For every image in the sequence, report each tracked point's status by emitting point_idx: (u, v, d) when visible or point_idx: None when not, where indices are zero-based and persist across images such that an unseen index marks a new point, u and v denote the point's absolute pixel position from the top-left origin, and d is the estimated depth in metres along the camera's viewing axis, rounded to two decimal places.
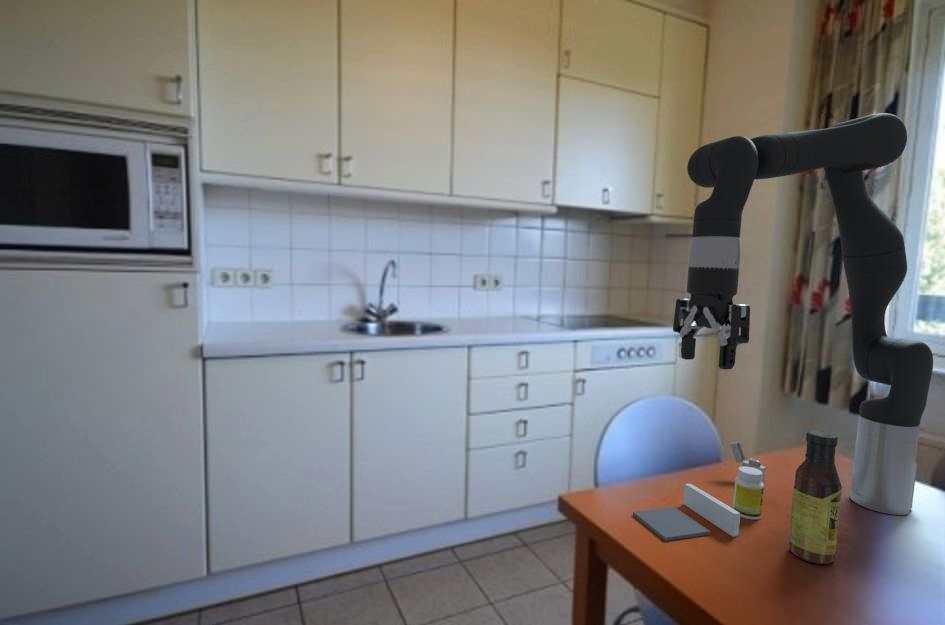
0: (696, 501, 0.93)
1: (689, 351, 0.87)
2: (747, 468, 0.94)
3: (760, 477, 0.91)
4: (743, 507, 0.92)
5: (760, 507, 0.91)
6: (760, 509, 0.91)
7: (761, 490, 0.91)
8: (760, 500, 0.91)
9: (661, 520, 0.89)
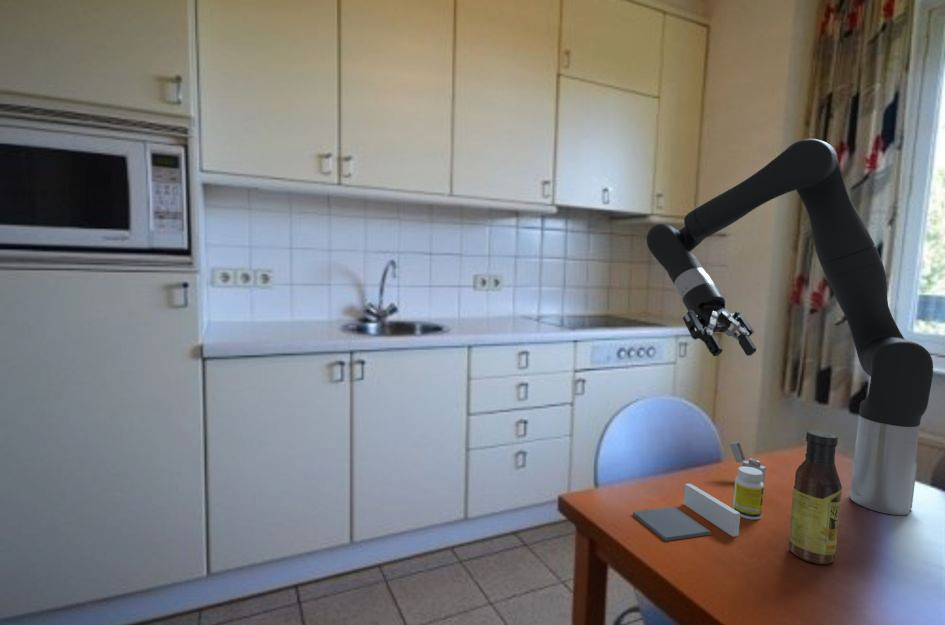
0: (696, 501, 0.93)
1: (747, 348, 1.03)
2: (747, 468, 0.94)
3: (760, 477, 0.91)
4: (743, 507, 0.92)
5: (760, 507, 0.91)
6: (760, 509, 0.91)
7: (761, 490, 0.91)
8: (760, 500, 0.91)
9: (661, 520, 0.89)
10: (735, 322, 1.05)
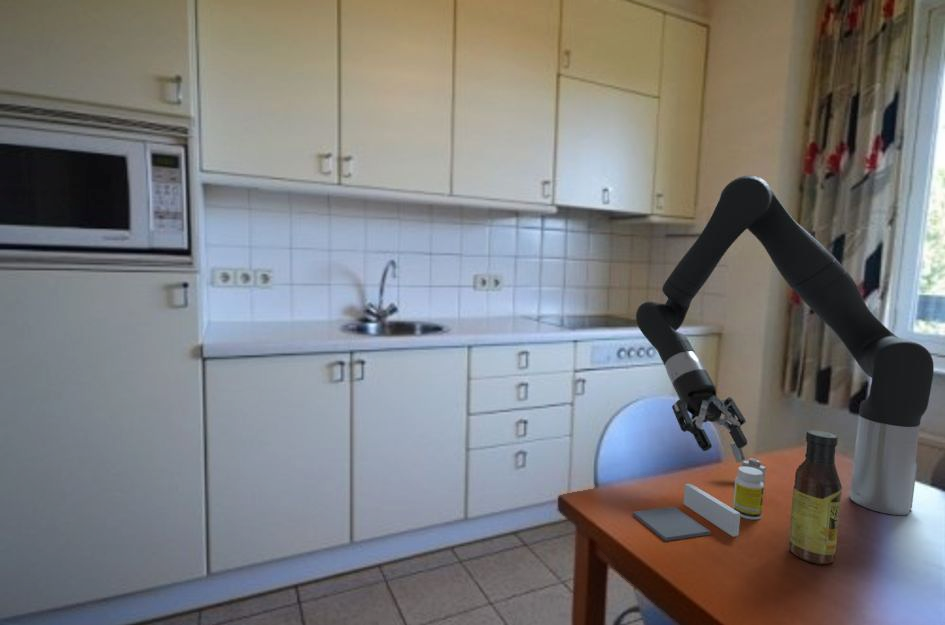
0: (696, 501, 0.93)
1: (737, 440, 1.00)
2: (747, 468, 0.94)
3: (760, 477, 0.91)
4: (743, 507, 0.92)
5: (760, 507, 0.91)
6: (760, 509, 0.91)
7: (761, 490, 0.91)
8: (760, 500, 0.91)
9: (661, 520, 0.89)
10: (726, 412, 1.02)
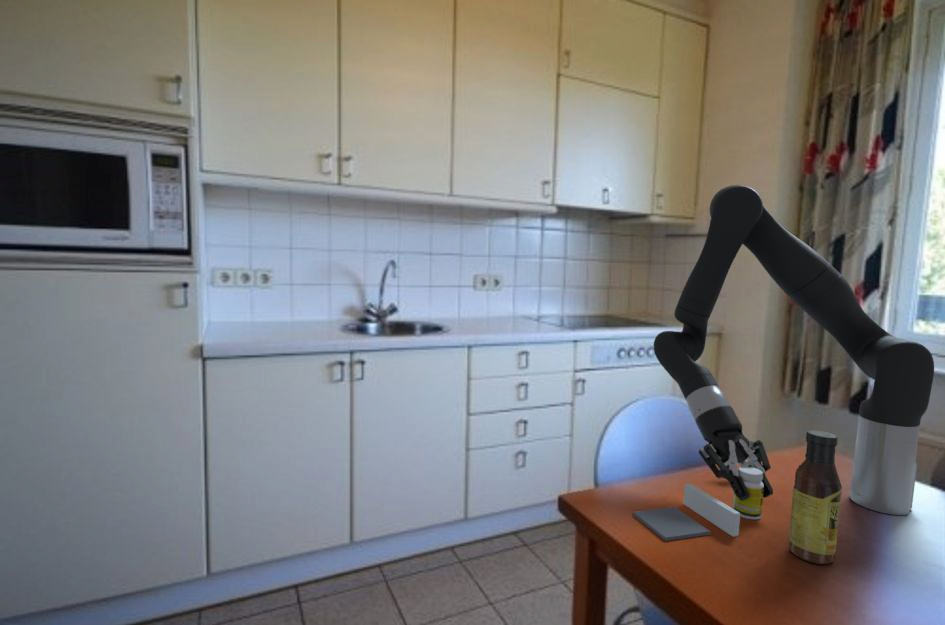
0: (696, 501, 0.93)
1: None
2: (747, 468, 0.94)
3: (760, 477, 0.91)
4: (743, 506, 0.92)
5: (760, 507, 0.91)
6: (760, 509, 0.91)
7: (761, 490, 0.91)
8: (760, 500, 0.91)
9: (661, 520, 0.89)
10: (751, 455, 0.95)
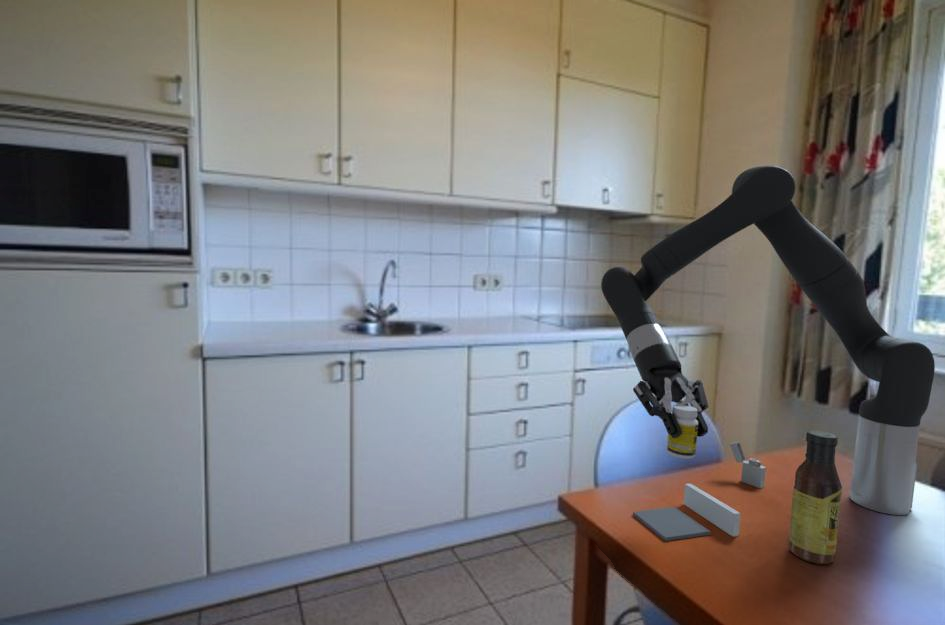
0: (696, 501, 0.93)
1: (698, 427, 0.88)
2: (682, 406, 0.89)
3: (694, 414, 0.86)
4: (676, 445, 0.86)
5: (693, 446, 0.86)
6: (693, 448, 0.86)
7: (694, 427, 0.86)
8: (693, 438, 0.86)
9: (661, 520, 0.89)
10: (688, 393, 0.90)
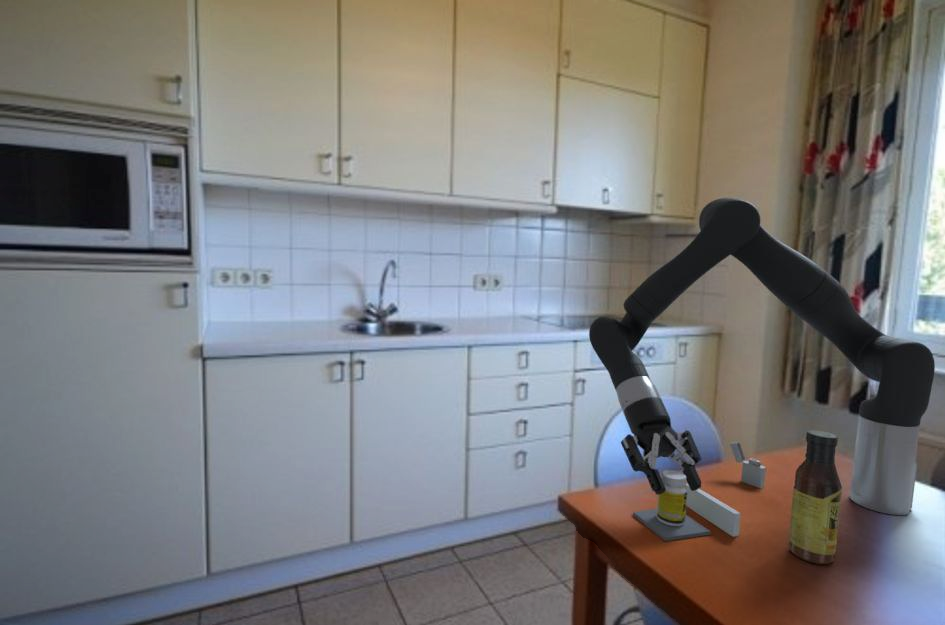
0: (696, 501, 0.93)
1: (691, 481, 0.88)
2: (671, 472, 0.89)
3: (683, 482, 0.86)
4: (665, 513, 0.87)
5: (683, 513, 0.86)
6: (683, 515, 0.87)
7: (683, 495, 0.86)
8: (683, 506, 0.86)
9: None
10: (679, 448, 0.90)
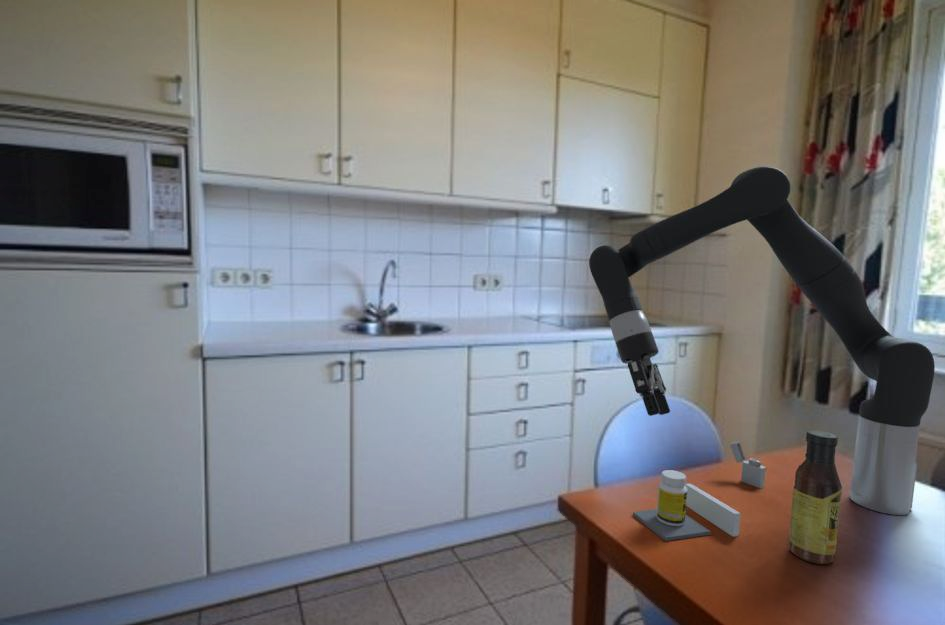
0: (696, 501, 0.93)
1: (662, 407, 1.02)
2: (671, 472, 0.89)
3: (682, 482, 0.86)
4: (665, 513, 0.87)
5: (683, 513, 0.86)
6: (683, 515, 0.87)
7: (683, 495, 0.86)
8: (682, 506, 0.86)
9: None
10: (660, 379, 1.02)
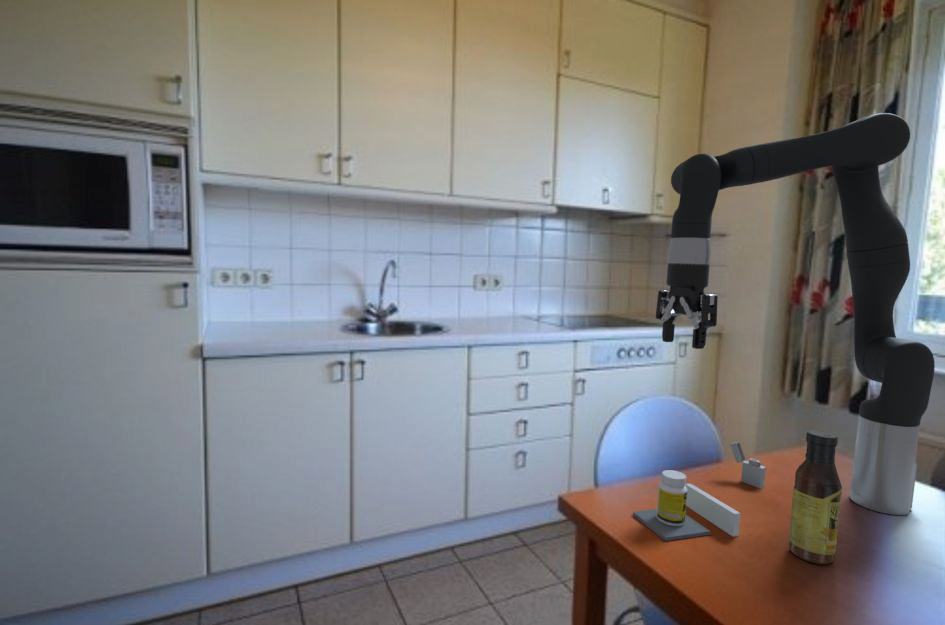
0: (696, 501, 0.93)
1: (669, 335, 1.02)
2: (671, 472, 0.89)
3: (682, 482, 0.86)
4: (665, 513, 0.87)
5: (683, 513, 0.86)
6: (683, 515, 0.87)
7: (683, 495, 0.86)
8: (682, 506, 0.86)
9: None
10: None
